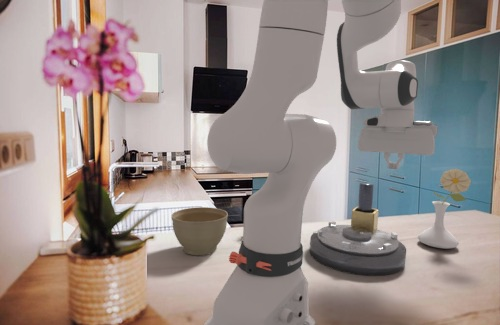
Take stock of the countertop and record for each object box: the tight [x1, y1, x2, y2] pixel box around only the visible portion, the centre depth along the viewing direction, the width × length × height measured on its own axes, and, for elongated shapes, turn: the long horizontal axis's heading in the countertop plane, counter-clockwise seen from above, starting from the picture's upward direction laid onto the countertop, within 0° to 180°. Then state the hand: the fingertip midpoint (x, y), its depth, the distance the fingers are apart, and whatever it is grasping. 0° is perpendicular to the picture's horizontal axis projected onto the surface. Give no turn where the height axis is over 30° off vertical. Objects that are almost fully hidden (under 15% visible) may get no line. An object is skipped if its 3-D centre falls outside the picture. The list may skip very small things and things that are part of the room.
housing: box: [309, 230, 407, 277], centre depth 96 cm, size 26×26×4 cm
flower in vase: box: [417, 168, 472, 250], centre depth 104 cm, size 13×11×25 cm
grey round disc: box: [317, 206, 400, 256], centre depth 95 cm, size 22×22×7 cm
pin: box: [357, 182, 374, 213], centre depth 101 cm, size 4×4×14 cm
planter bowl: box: [171, 206, 229, 256], centre depth 97 cm, size 16×16×11 cm
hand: (393, 169), depth 96 cm, fingers closed
